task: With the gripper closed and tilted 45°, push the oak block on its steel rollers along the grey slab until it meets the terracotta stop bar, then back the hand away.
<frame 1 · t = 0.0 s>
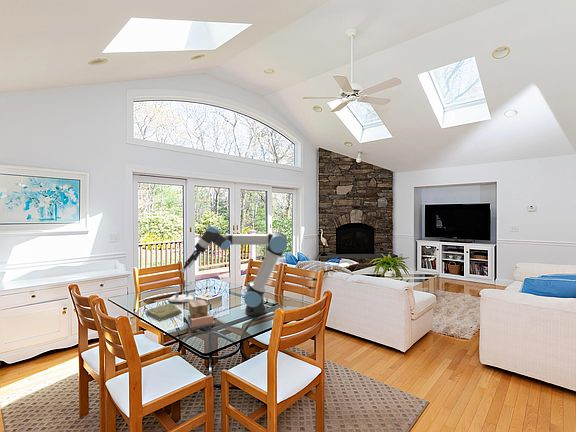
hand: (185, 269, 217), 36 cm above the table, fingers open, 13 cm apart
figurine: (181, 300, 258), on the table
oak block: (198, 310, 219), point 7 cm above the table, slide at 0.0 cm
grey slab: (199, 321, 216), on the table
decorative tile: (165, 313, 231), on the table
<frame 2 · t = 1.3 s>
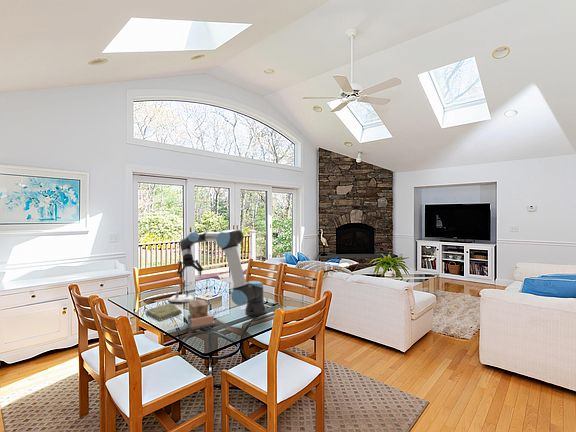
hand: (191, 280, 234), 24 cm above the table, fingers open, 12 cm apart
nothing on the table moved.
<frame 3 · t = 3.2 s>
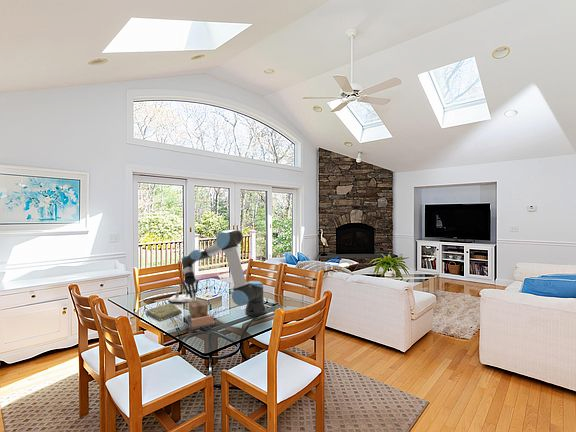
hand: (193, 301, 230), 9 cm above the table, fingers closed
nothing on the table moved.
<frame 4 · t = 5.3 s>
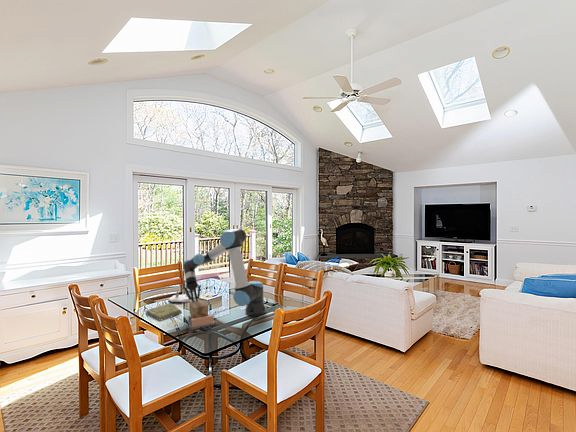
hand: (196, 307, 223), 7 cm above the table, fingers closed
oak block: (198, 311, 217), point 7 cm above the table, slide at 1.6 cm, touching gripper
everything else where it was.
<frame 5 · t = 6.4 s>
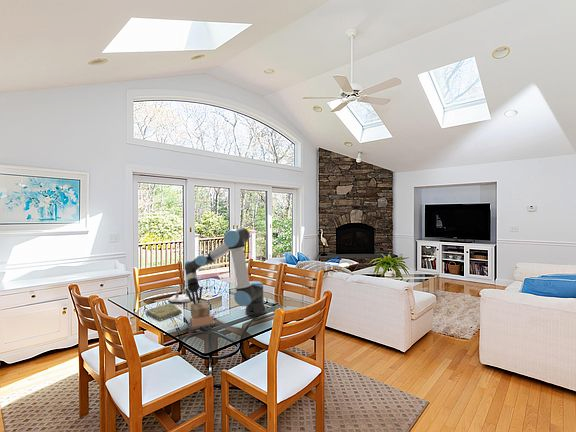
hand: (197, 309, 220), 7 cm above the table, fingers closed
oak block: (200, 313, 213), point 7 cm above the table, slide at 6.0 cm, touching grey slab, gripper
everything else where it was.
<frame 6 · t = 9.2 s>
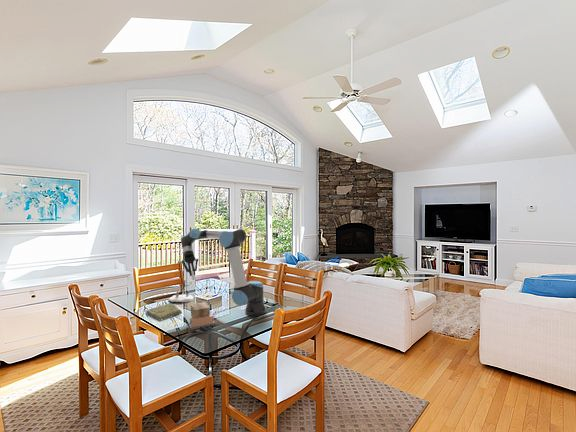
hand: (193, 279, 229), 26 cm above the table, fingers closed
oak block: (200, 313, 213), point 7 cm above the table, slide at 6.0 cm, touching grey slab
everything else where it was.
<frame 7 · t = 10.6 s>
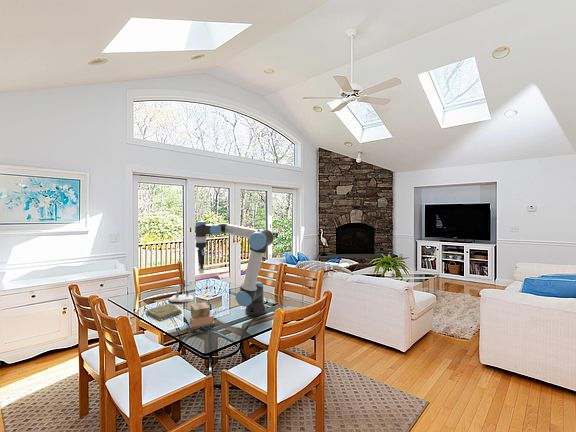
hand: (201, 273, 232), 29 cm above the table, fingers closed
nothing on the table moved.
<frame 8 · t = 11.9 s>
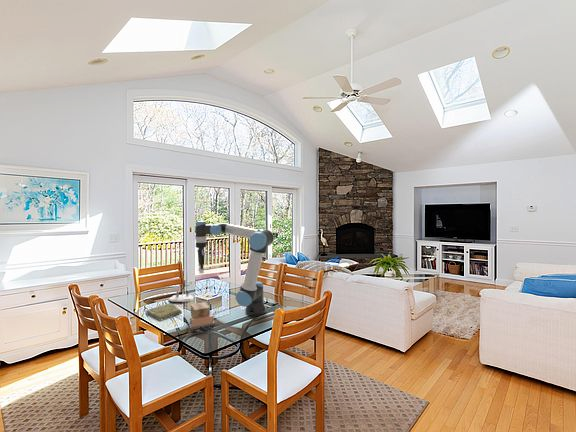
hand: (201, 273, 232), 29 cm above the table, fingers closed
nothing on the table moved.
at the end: oak block slide at 6.0 cm; the gripper is holding nothing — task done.
